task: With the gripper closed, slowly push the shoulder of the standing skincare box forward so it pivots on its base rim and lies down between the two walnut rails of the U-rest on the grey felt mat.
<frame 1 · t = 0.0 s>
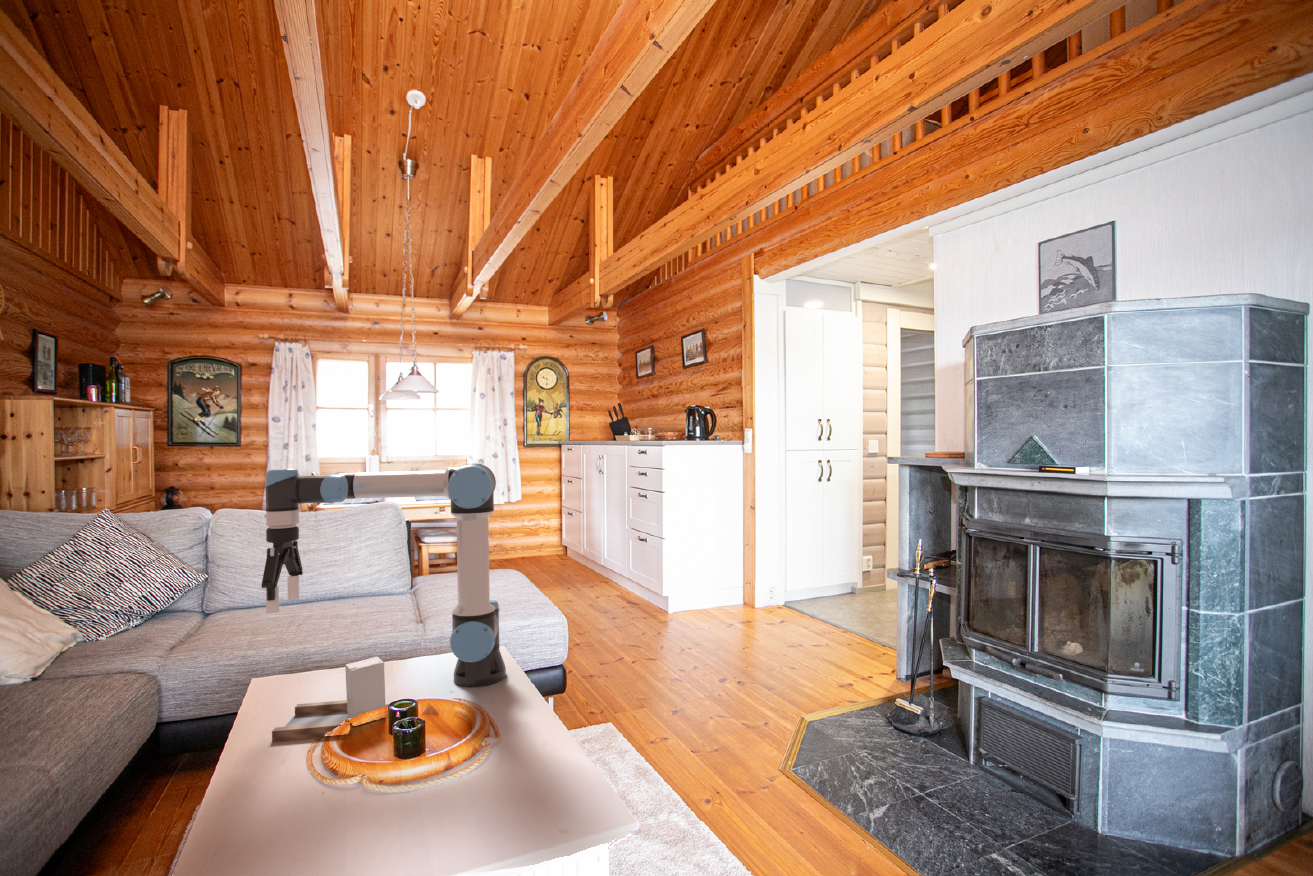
hand: (283, 606, 168), 28 cm above the table, fingers open, 13 cm apart
skincare box: (366, 720, 161), on the table
u rest: (322, 723, 159), on the table
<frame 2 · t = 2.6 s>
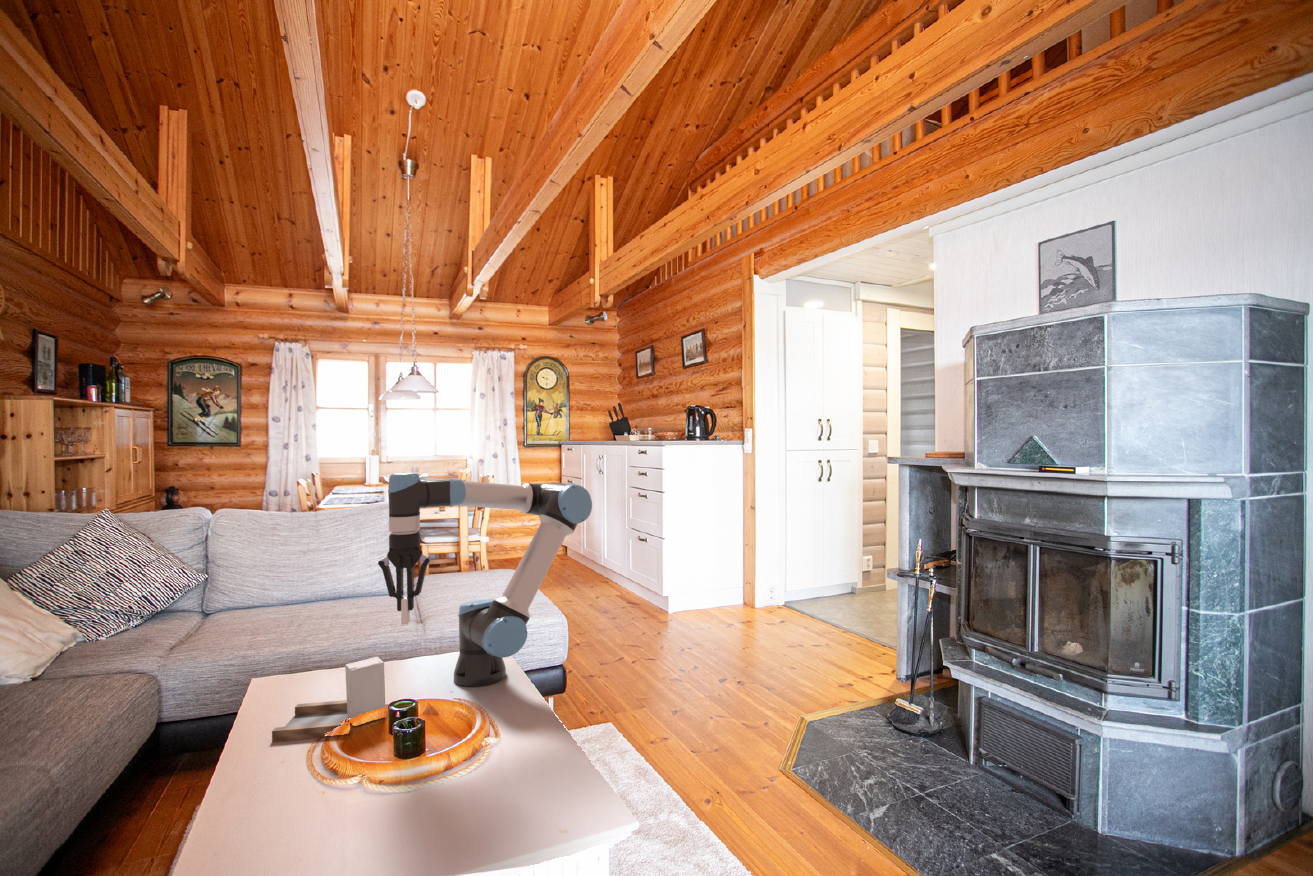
hand: (405, 623, 163), 24 cm above the table, fingers closed
nothing on the table moved.
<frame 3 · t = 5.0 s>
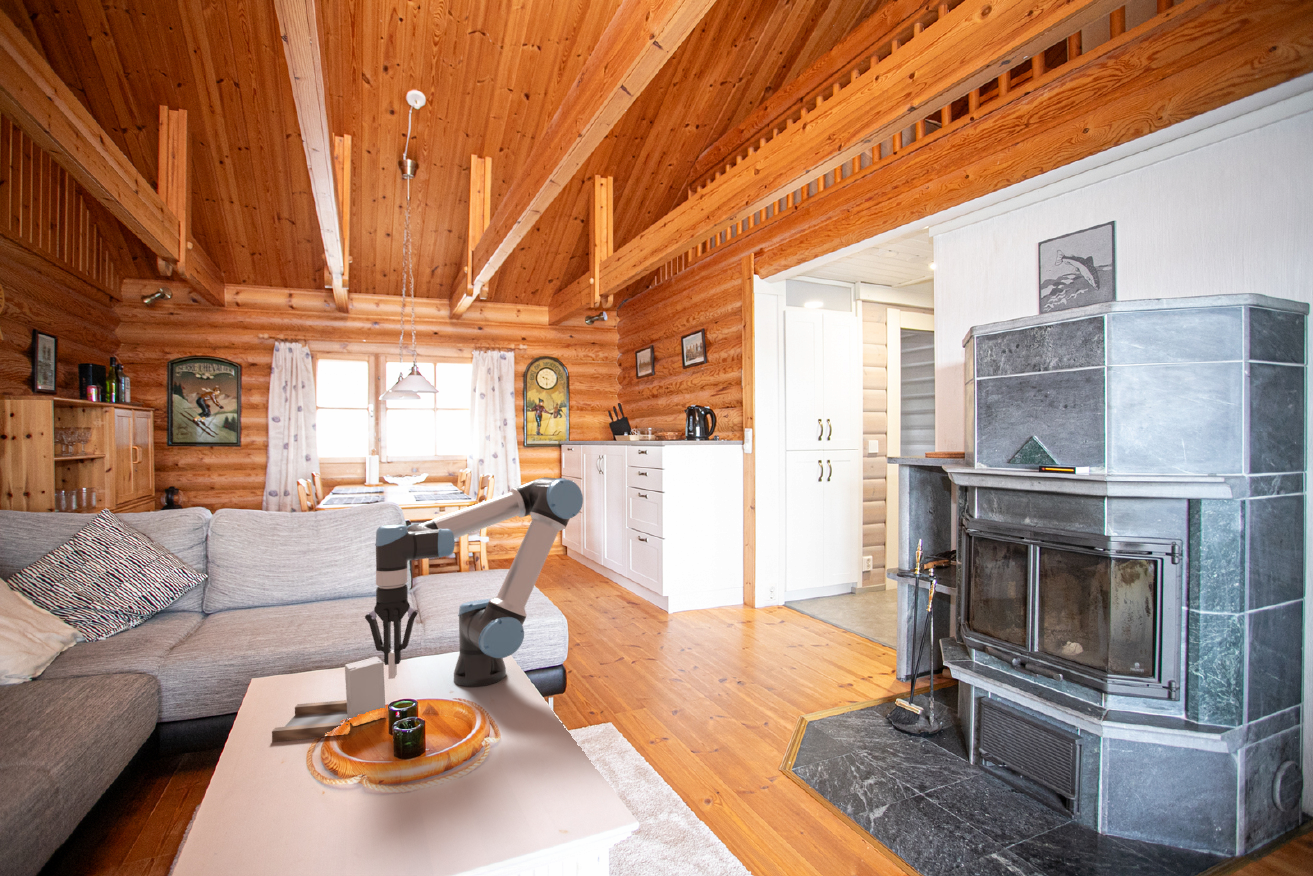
hand: (392, 676, 162), 11 cm above the table, fingers closed
skincare box: (366, 720, 161), on the table, touching gripper
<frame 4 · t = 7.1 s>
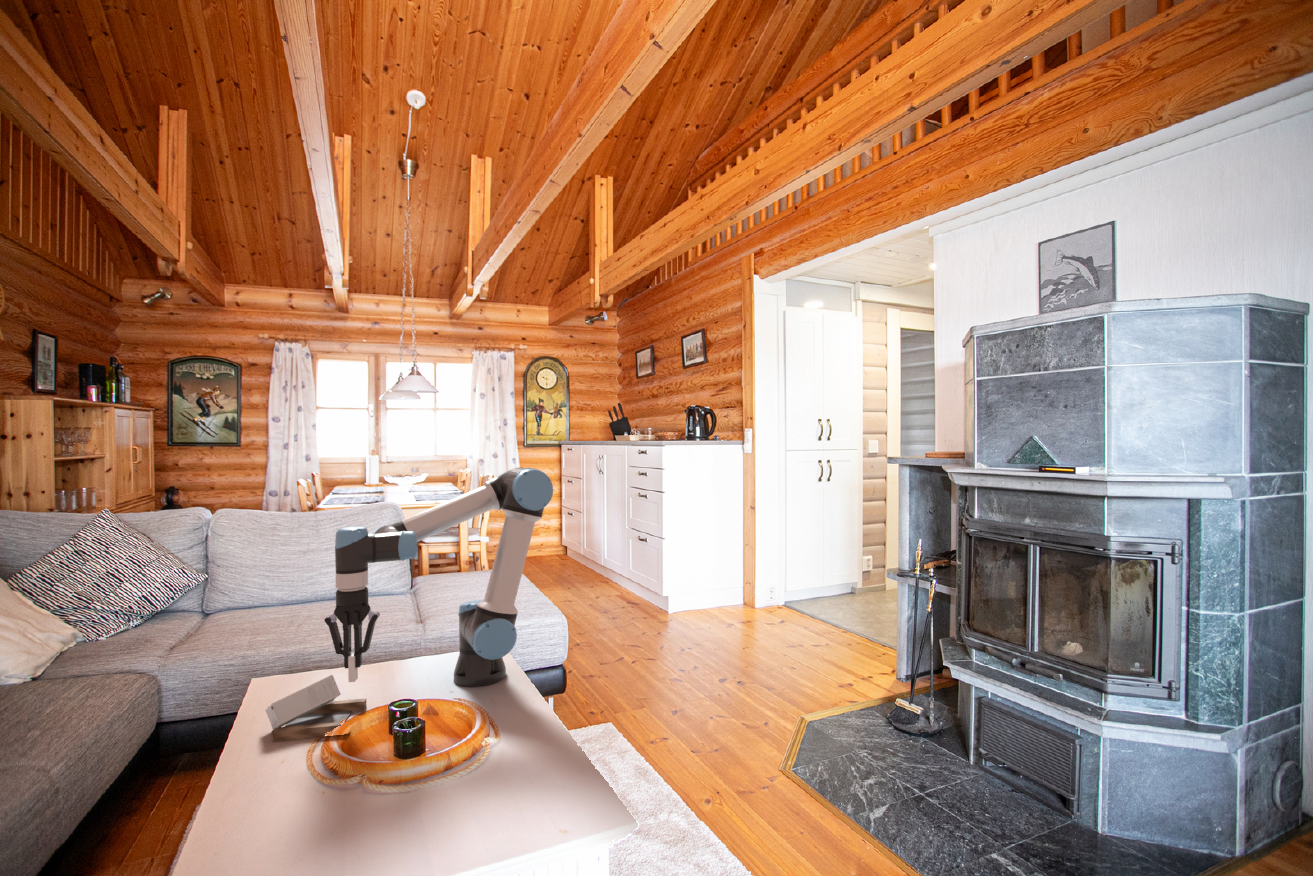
hand: (353, 680, 160), 10 cm above the table, fingers closed
skincare box: (334, 686, 164), point 7 cm above the table, touching u rest
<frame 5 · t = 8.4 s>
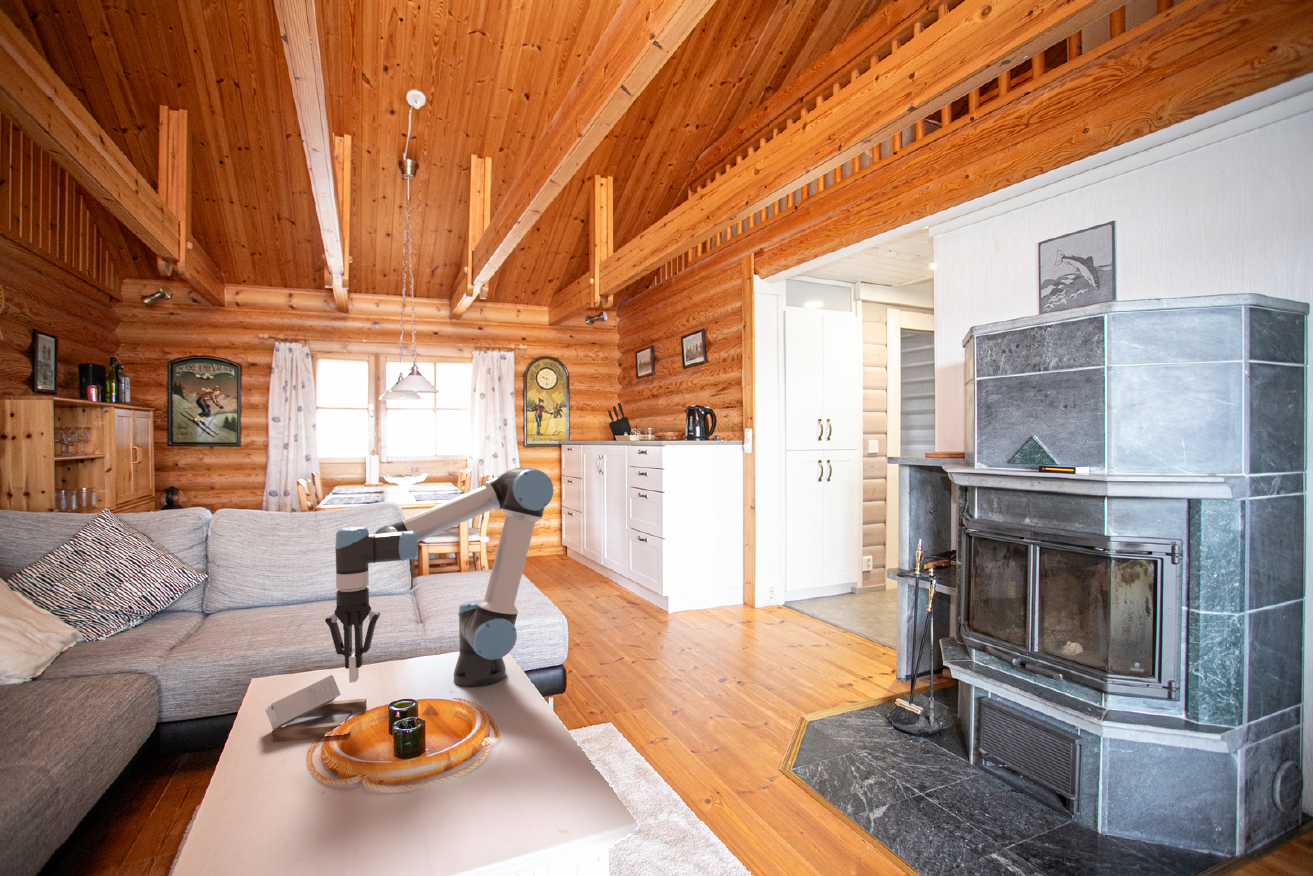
hand: (353, 680, 161), 10 cm above the table, fingers closed
nothing on the table moved.
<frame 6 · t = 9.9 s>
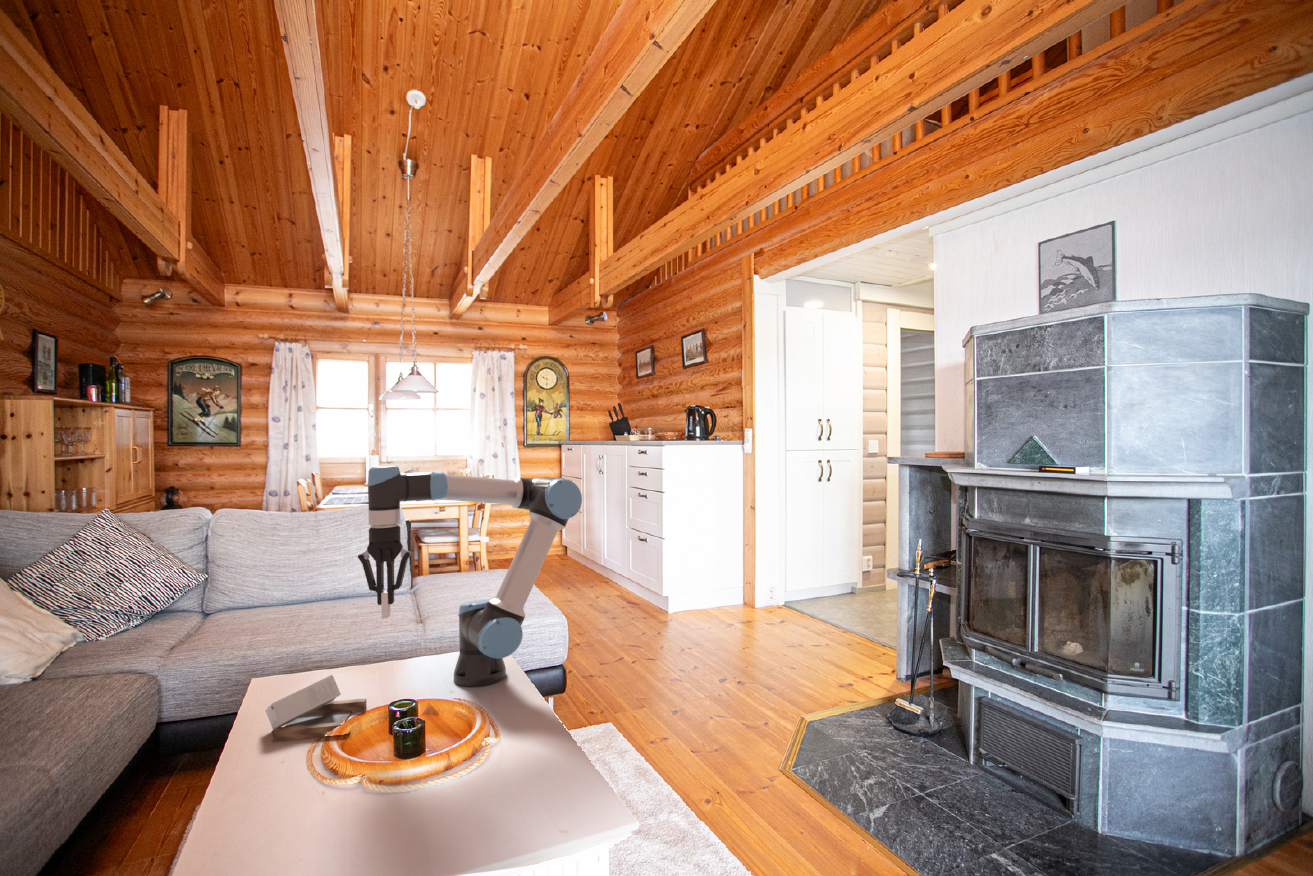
hand: (386, 616, 162), 26 cm above the table, fingers closed
nothing on the table moved.
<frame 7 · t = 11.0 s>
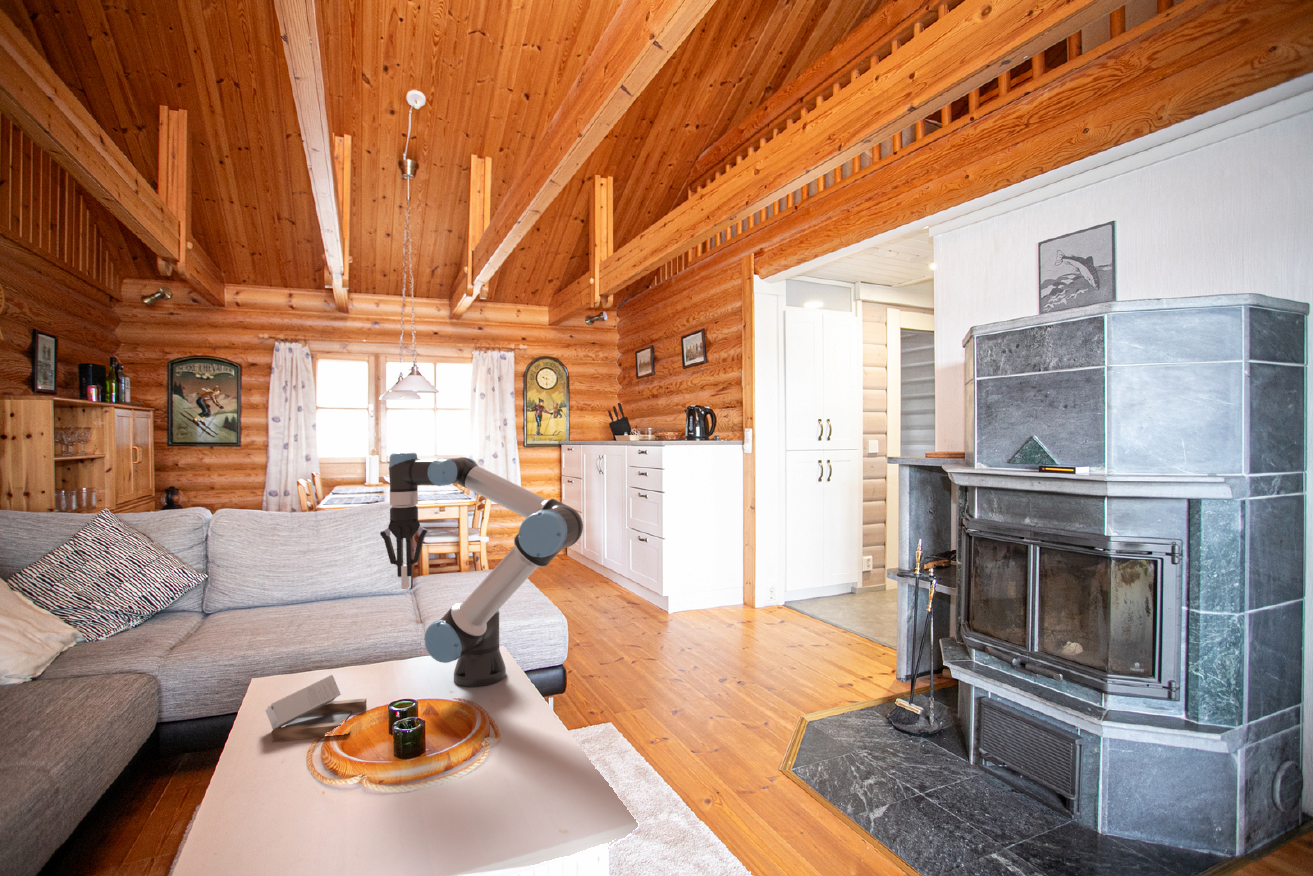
hand: (405, 587, 181), 29 cm above the table, fingers closed
nothing on the table moved.
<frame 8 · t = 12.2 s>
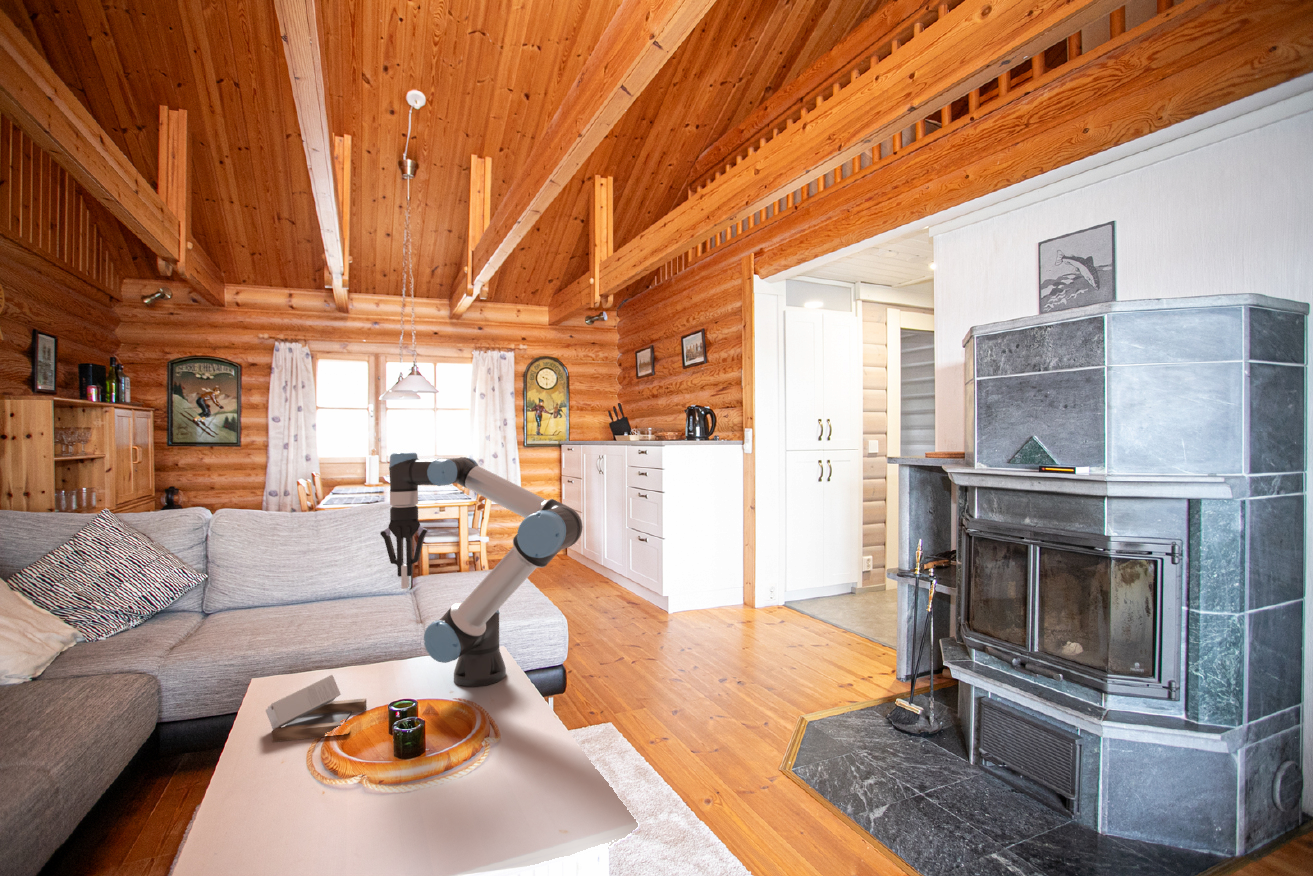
hand: (405, 587, 181), 29 cm above the table, fingers closed
nothing on the table moved.
at the end: skincare box tilted 104°; skincare box inside the target area on the u rest (5.3 cm from its centre), point 7.5 cm above the u rest's base; the gripper is holding nothing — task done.
